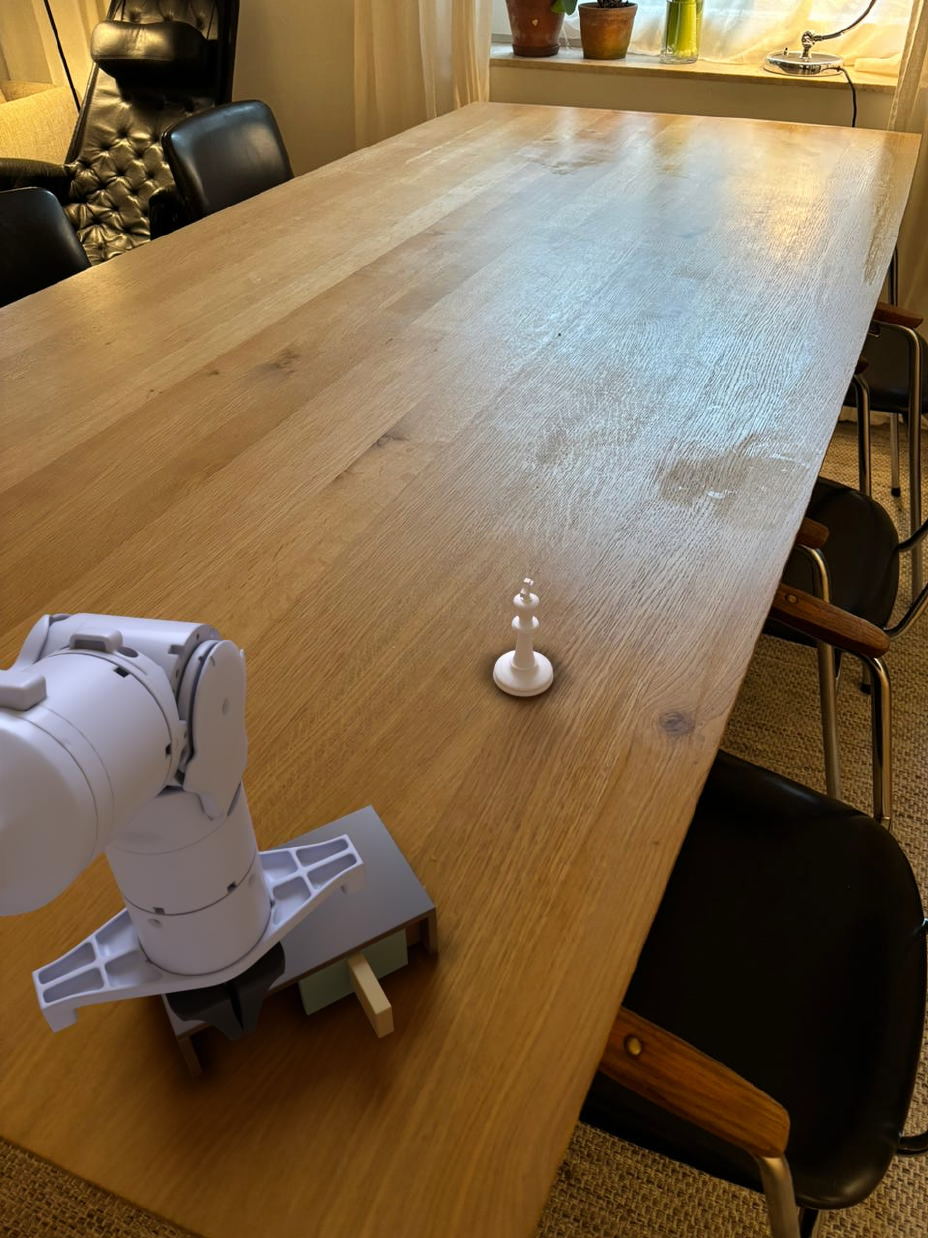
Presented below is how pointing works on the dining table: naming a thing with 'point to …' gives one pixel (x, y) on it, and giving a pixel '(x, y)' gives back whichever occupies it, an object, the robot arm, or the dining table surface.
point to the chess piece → (524, 652)
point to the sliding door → (359, 981)
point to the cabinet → (345, 913)
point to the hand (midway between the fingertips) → (237, 1019)
